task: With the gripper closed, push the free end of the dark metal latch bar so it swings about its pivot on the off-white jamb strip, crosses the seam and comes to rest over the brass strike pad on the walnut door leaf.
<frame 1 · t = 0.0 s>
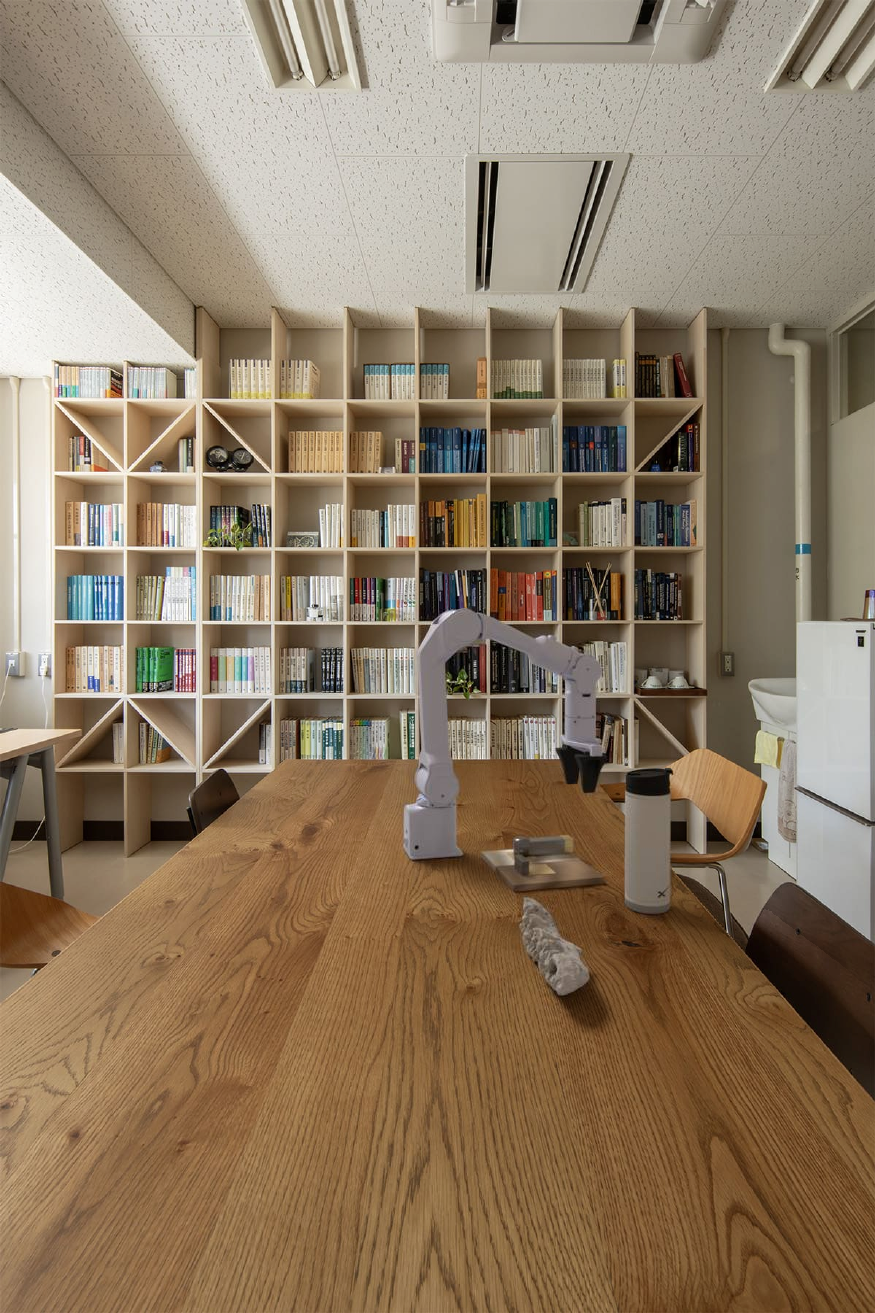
hand: (580, 788, 133), 10 cm above the table, tool pointing down, fingers open, 7 cm apart
latch bar: (542, 845, 122), point 3 cm above the table, hinge at 0.0°
travel mug: (648, 907, 101), on the table
door board: (539, 869, 117), on the table
fossil: (555, 968, 83), on the table
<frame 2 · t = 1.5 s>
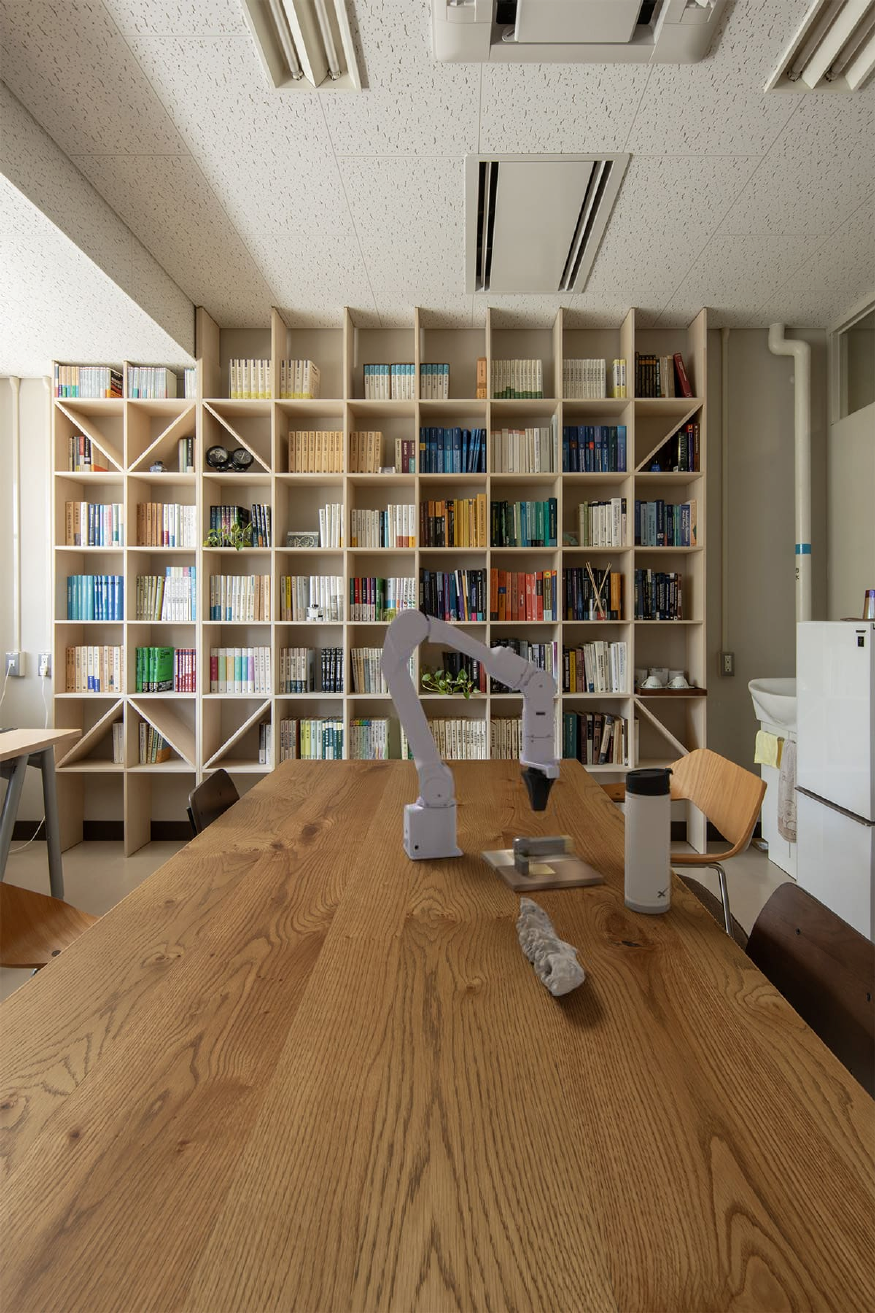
hand: (538, 810, 127), 7 cm above the table, tool pointing down, fingers closed
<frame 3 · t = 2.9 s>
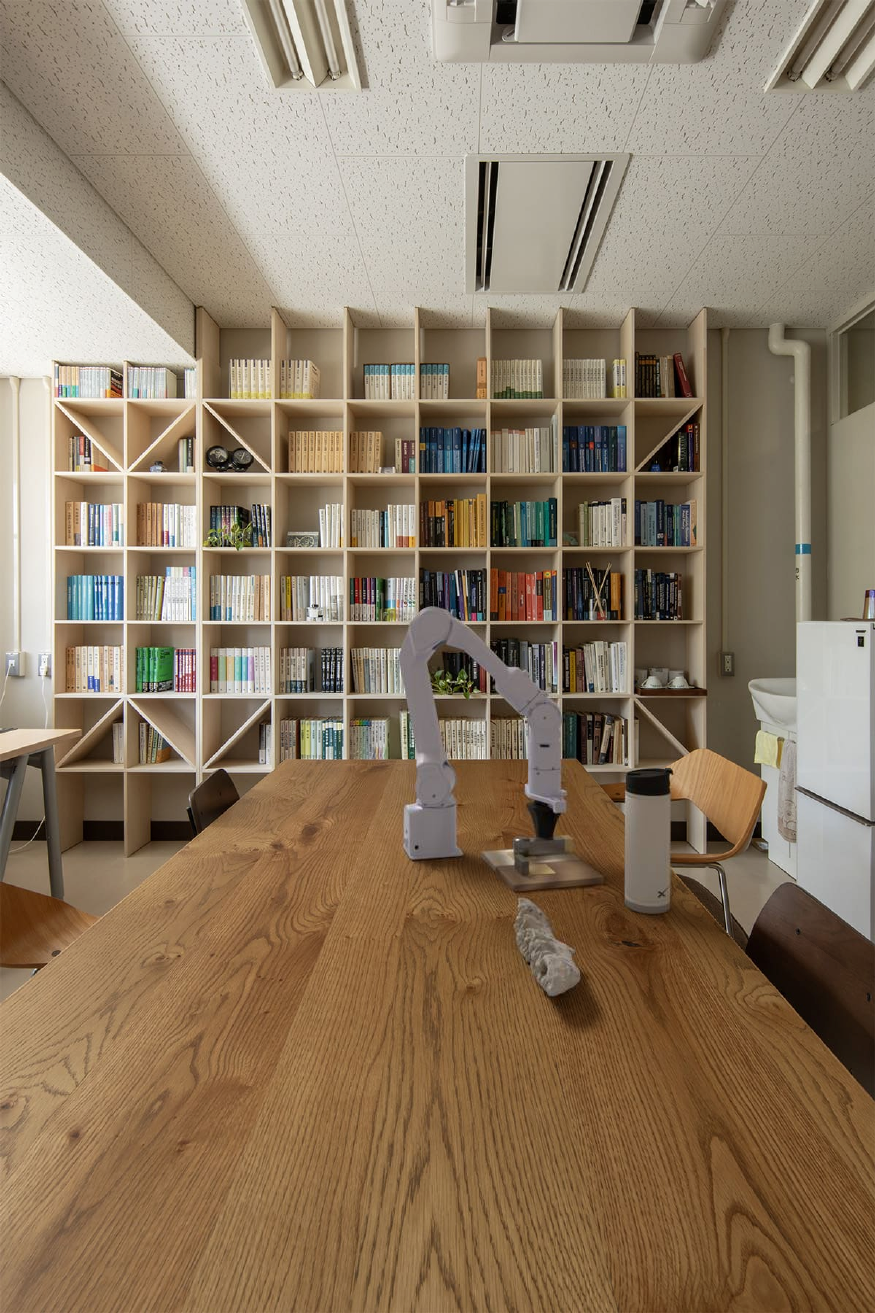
hand: (544, 843, 124), 2 cm above the table, tool pointing down, fingers closed, pressing on latch bar
latch bar: (542, 845, 122), point 3 cm above the table, hinge at 0.0°, touching gripper
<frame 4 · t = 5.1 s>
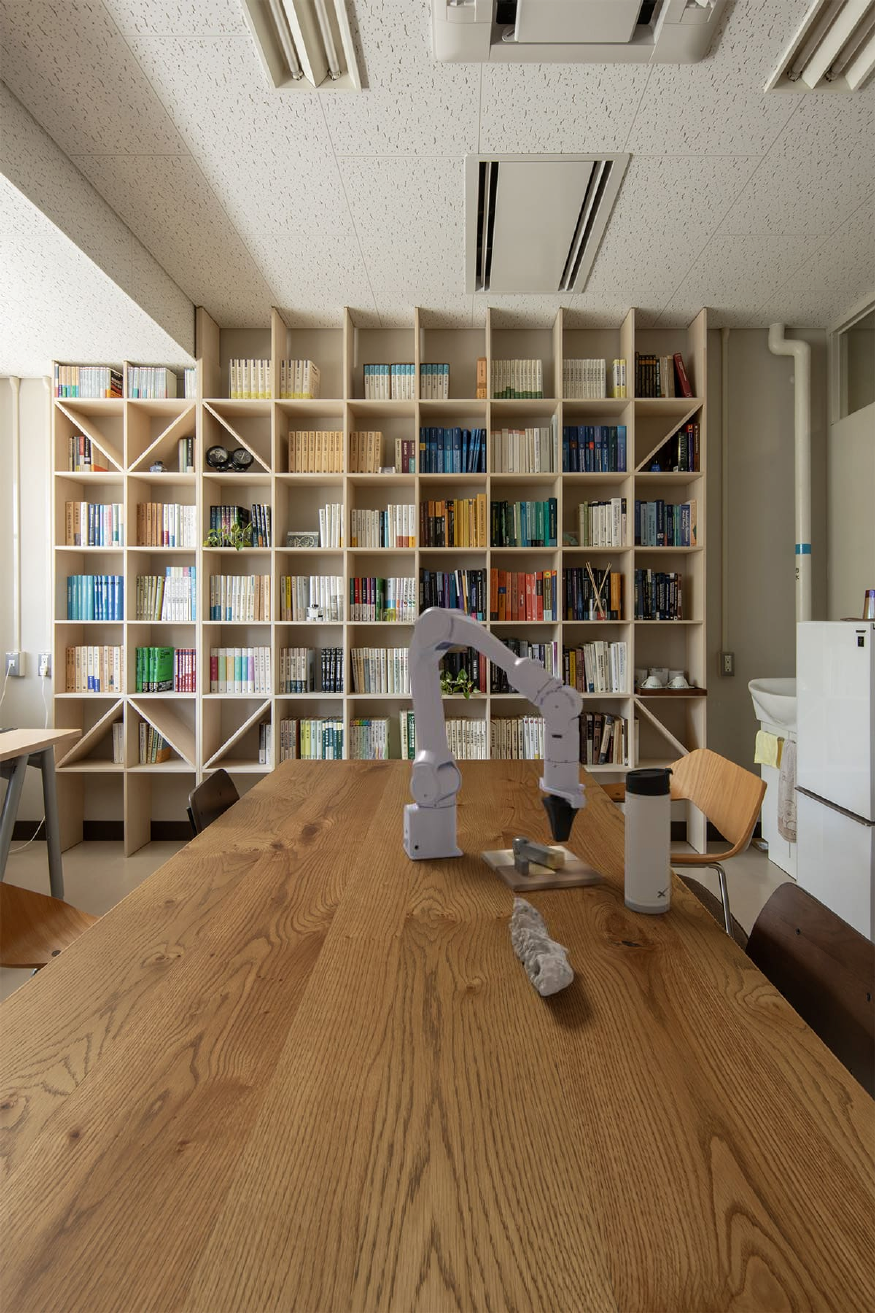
hand: (560, 840, 116), 5 cm above the table, tool pointing down, fingers closed
latch bar: (537, 852, 118), point 3 cm above the table, hinge at -67.7°
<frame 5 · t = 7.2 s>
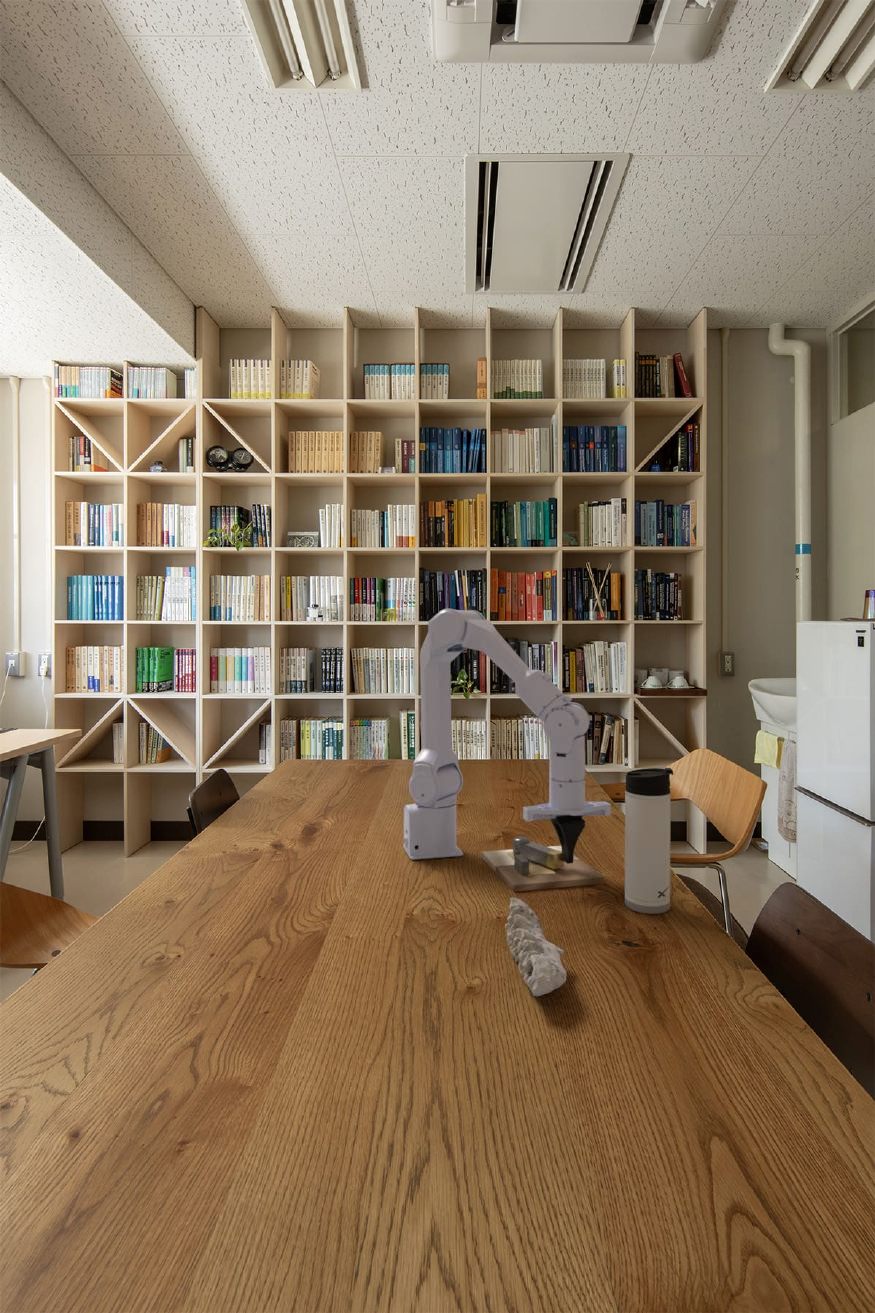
hand: (567, 861, 114), 2 cm above the table, tool pointing down, fingers closed, pressing on latch bar
latch bar: (536, 852, 118), point 3 cm above the table, hinge at -68.4°, touching gripper
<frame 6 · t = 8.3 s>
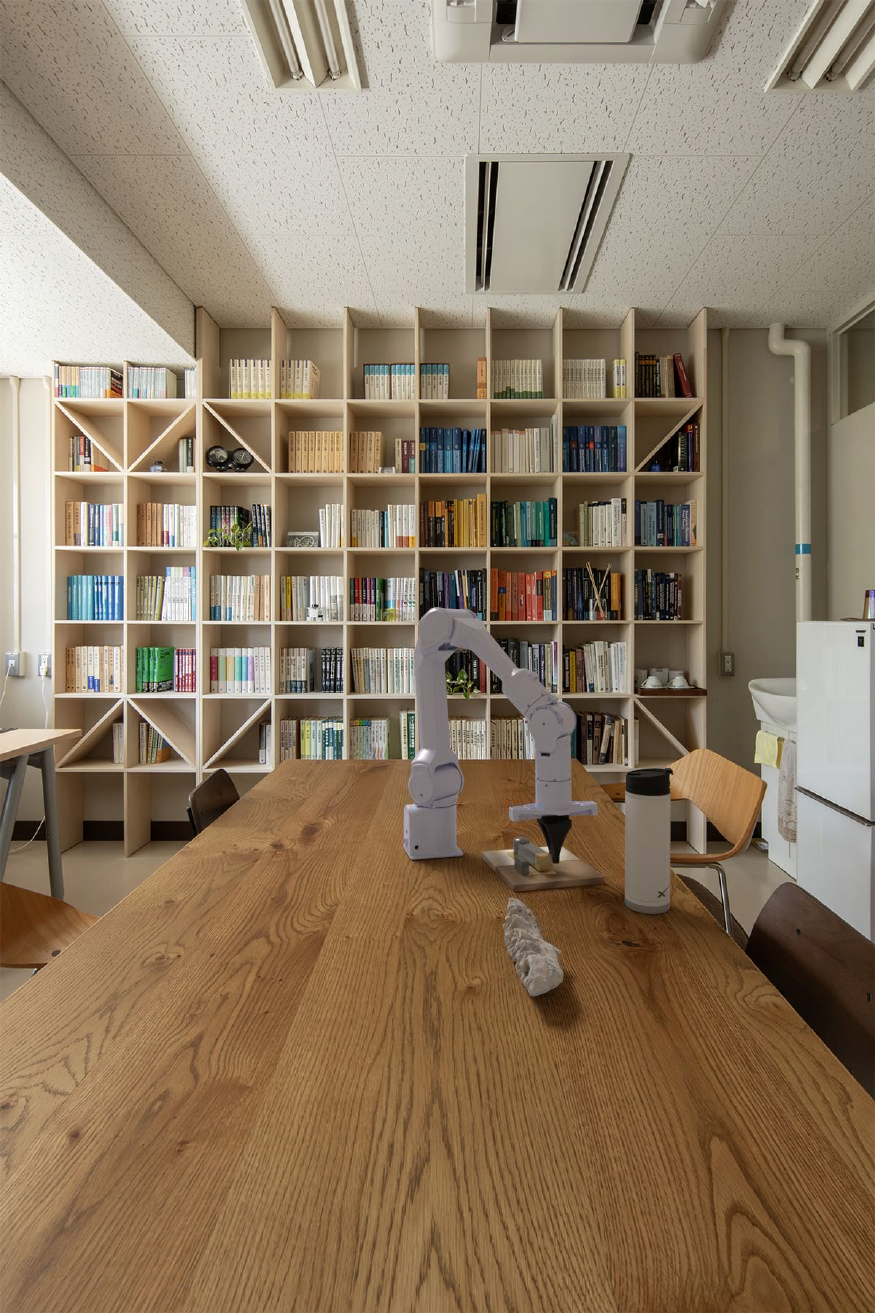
hand: (554, 862, 113), 2 cm above the table, tool pointing down, fingers closed
latch bar: (531, 853, 117), point 3 cm above the table, hinge at -84.5°, touching gripper
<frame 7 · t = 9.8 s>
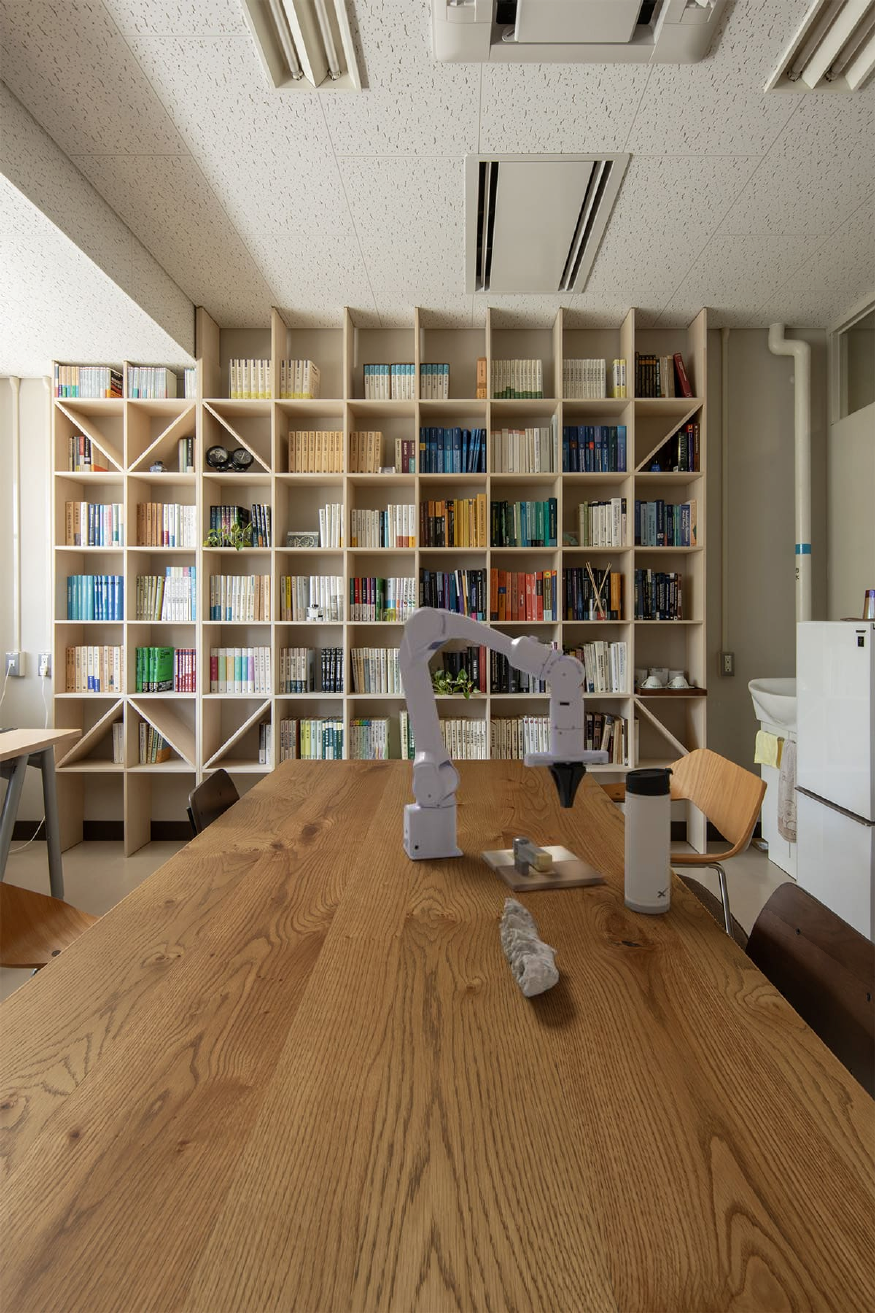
hand: (566, 806, 119), 10 cm above the table, tool pointing down, fingers closed
latch bar: (531, 853, 117), point 3 cm above the table, hinge at -84.6°
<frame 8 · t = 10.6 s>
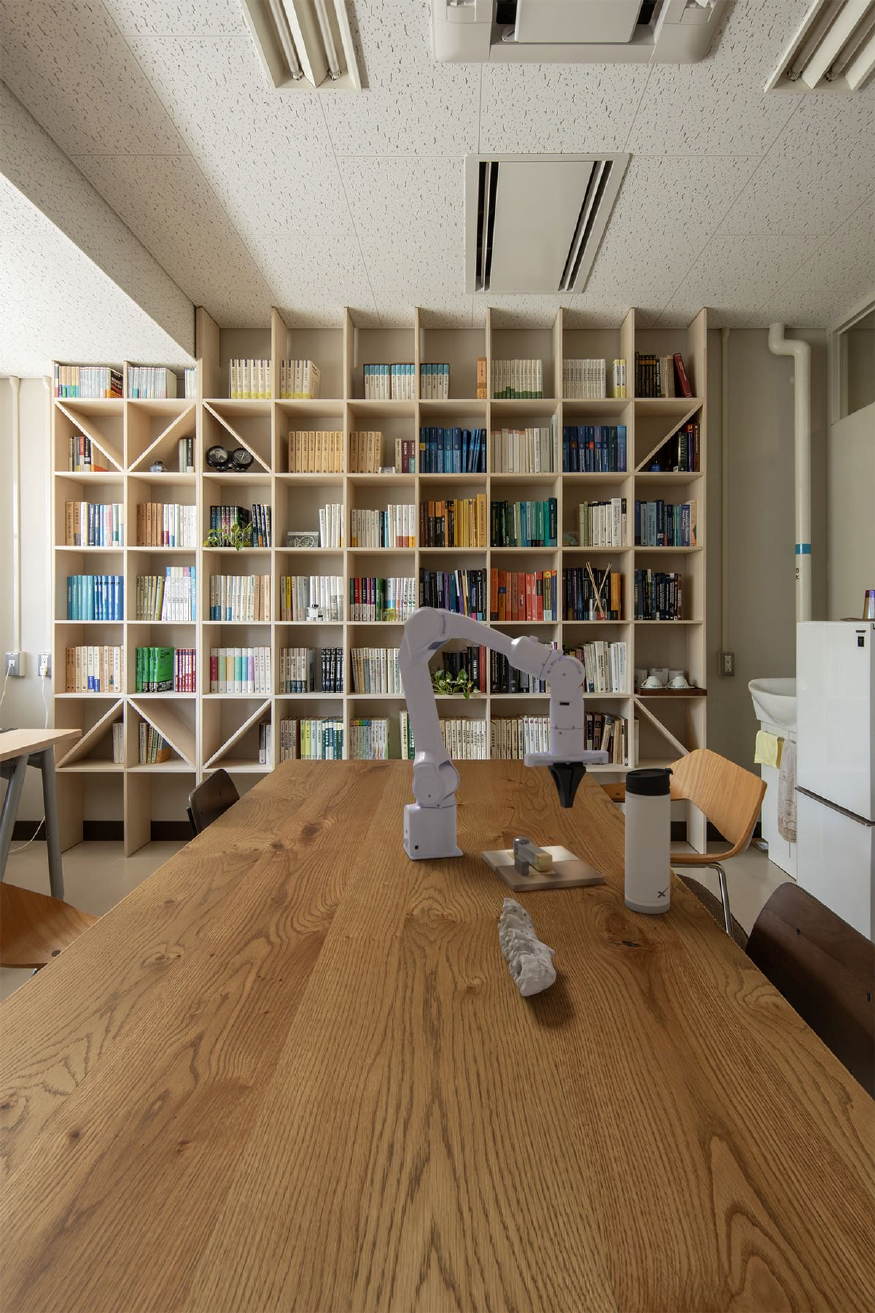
hand: (566, 806, 119), 10 cm above the table, tool pointing down, fingers closed
at the end: latch bar at -85° (first picture: +0°) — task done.
